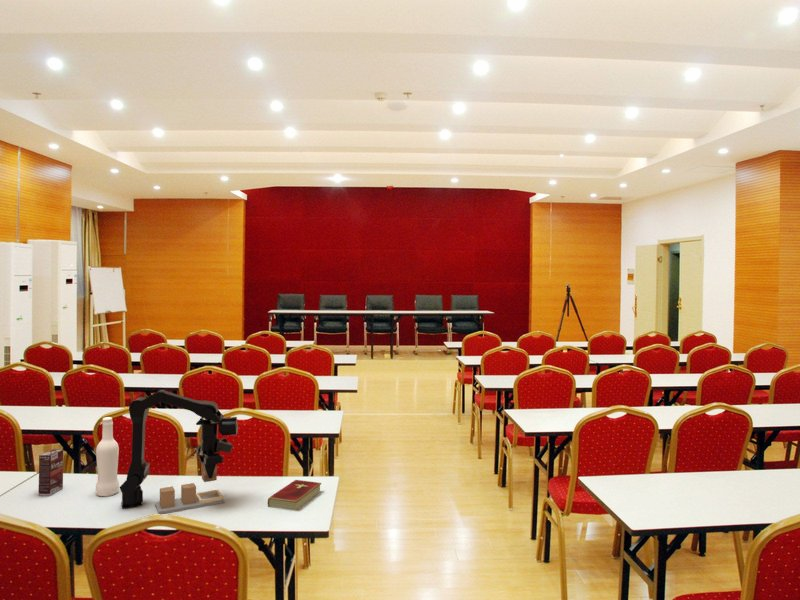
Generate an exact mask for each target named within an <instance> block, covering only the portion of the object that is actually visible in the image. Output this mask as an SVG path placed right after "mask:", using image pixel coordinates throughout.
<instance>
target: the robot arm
mask: <svg viewBox="0 0 800 600" xmlns="http://www.w3.org/2000/svg"><path fill="white" fill-rule="evenodd" d="M159 403H163V404H167V405H170V406H174V407H177V408H179V409H180V408H181V409H183V410H186V411H190V412H192V413H193V414H195V415H196V416H199V417H200V418H199V419H198V420H197V421H196V423H195V425H196V426H201V437H200V442H201V444H198V445H197V446H196V448H195V450H196V451H195V452H196V454H197V455H198V459H199V461H200V463H201V464H202V463H203V464H204V466H205V469H206V472H207V474H208V477H209V478H212V476H213V473H214V469H215V466H216V464H217V465H218V464H223V463H224V457H223V456H222V454H220V452H223V453H227V454H231V453H232V449H233V447H234V444H232V443H231V442H230V441H228V438H226V437H222V438H221V439H220V438H219V437H218V433H219V435H221V436H237V435H238V430H239V424H238V417H237V416H233V417H231V416H230V417H224V415H223V414H222V412H221V411H220V410H219V406H218V404H217V403H216V402H215V401H210V400H199V399H198V400H197V399H193V398H189V397H186V396H182V395H179V394H176V393H173V392H170V391H167V390H165V389H160V390H158V391H156V392H155V393H152V394H150V395H148V396H146V397H144V396H140V397H138V398H137V397H136V399H135V400H132V401H131V403H130V404H129V406H128V411H129V412H128V413H129V417H130V418H129V419H130V420H131V423H132V431H131V434H132V435H131V437H132V438H131V461H130V464H129V468H128V469H127V475H126V479H125V480H124V482H123V483H122V484H121V485H119V490H120V492H121V502H120V504H121V509H128V508H134V507H140V506H142V505H143V502H144V500H143V499H144V495H143V494H144V492H143V491H144V490H143V489H142V486H141V485H142V483H143V482H144V481H145V480H146V479H147V477H148V475H149V474H150V464H151V463H150V462H146V459H145V447H146V446H145V442H146V421H147V418H148V415H149V411H150V408H151V407H153V406H155V405H157V404H159Z"/></svg>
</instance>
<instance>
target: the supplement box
mask: <svg viewBox="0 0 800 600" xmlns="http://www.w3.org/2000/svg"><path fill="white" fill-rule="evenodd" d="M63 488H64V449H58V448H57V449H55V448H54V449H51V450H49V451H47V452H44V453H42V454H39V455H38V496H40V497H51V496H52V495H53V494H56V493H58V492H60V491H61V490H63Z"/></svg>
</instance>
